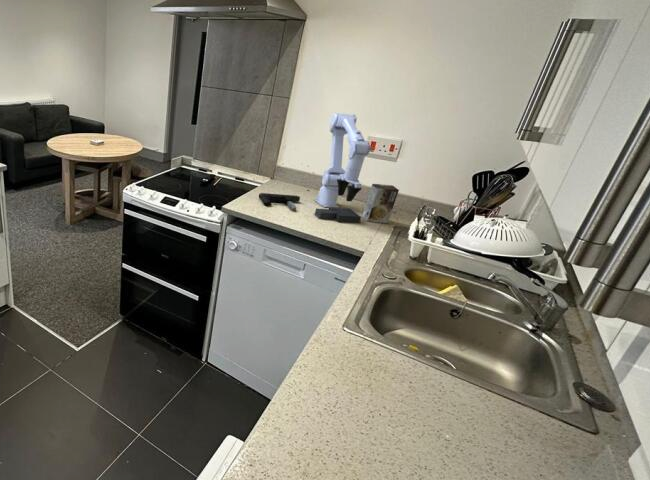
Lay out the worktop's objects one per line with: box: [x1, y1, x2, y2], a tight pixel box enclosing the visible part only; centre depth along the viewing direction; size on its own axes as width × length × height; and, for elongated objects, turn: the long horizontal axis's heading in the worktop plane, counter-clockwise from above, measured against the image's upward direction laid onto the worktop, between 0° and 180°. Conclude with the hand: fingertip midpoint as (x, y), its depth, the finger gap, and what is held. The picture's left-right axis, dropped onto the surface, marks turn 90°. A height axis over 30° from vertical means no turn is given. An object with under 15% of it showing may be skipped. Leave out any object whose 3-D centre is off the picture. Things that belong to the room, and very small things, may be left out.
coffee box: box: [361, 183, 400, 224], centre depth 176 cm, size 9×6×16 cm
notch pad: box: [328, 207, 362, 224], centre depth 177 cm, size 10×10×3 cm
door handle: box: [258, 192, 301, 212], centre depth 188 cm, size 3×20×16 cm
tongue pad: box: [314, 208, 339, 220], centre depth 177 cm, size 5×9×3 cm, turn 92°
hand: (344, 198), depth 176 cm, fingers open, 7 cm apart
